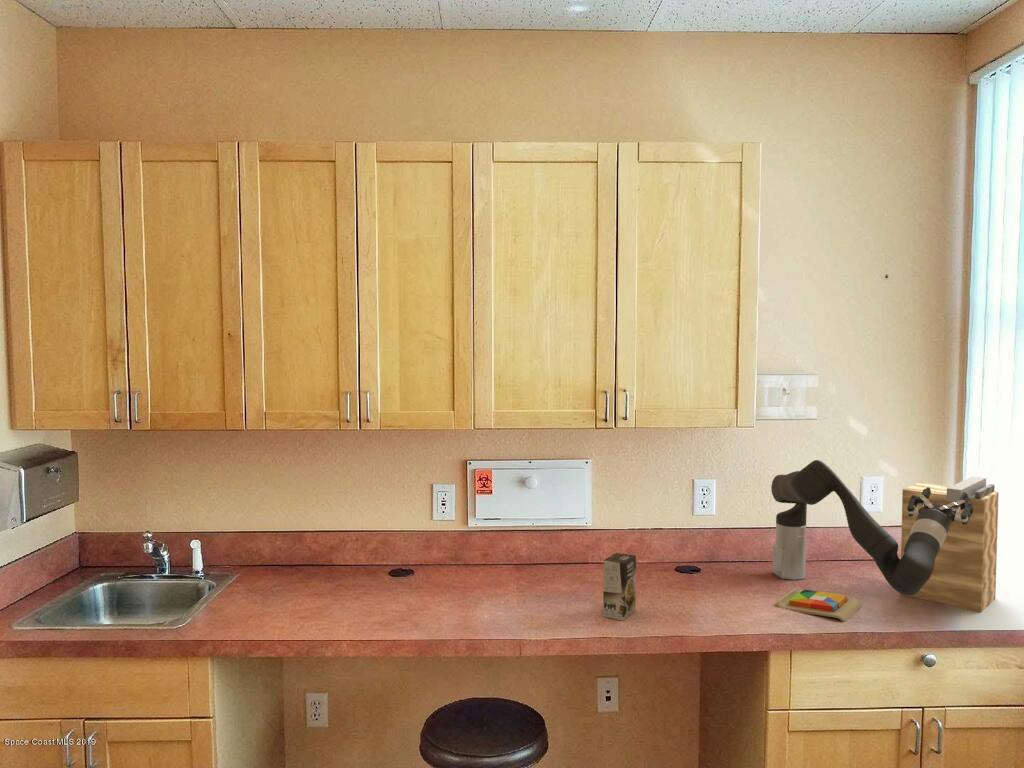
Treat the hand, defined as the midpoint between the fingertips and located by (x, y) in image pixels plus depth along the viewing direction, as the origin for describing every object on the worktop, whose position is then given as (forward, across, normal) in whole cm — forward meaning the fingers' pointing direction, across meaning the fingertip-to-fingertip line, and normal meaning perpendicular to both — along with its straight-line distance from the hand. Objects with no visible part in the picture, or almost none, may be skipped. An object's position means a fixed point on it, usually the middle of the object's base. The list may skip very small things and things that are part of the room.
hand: (946, 492), depth 190 cm
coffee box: (-68, +65, +2) cm, 94 cm away
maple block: (+4, +6, +43) cm, 44 cm away
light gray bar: (+15, 0, +13) cm, 20 cm away
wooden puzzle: (-28, +29, +26) cm, 48 cm away
